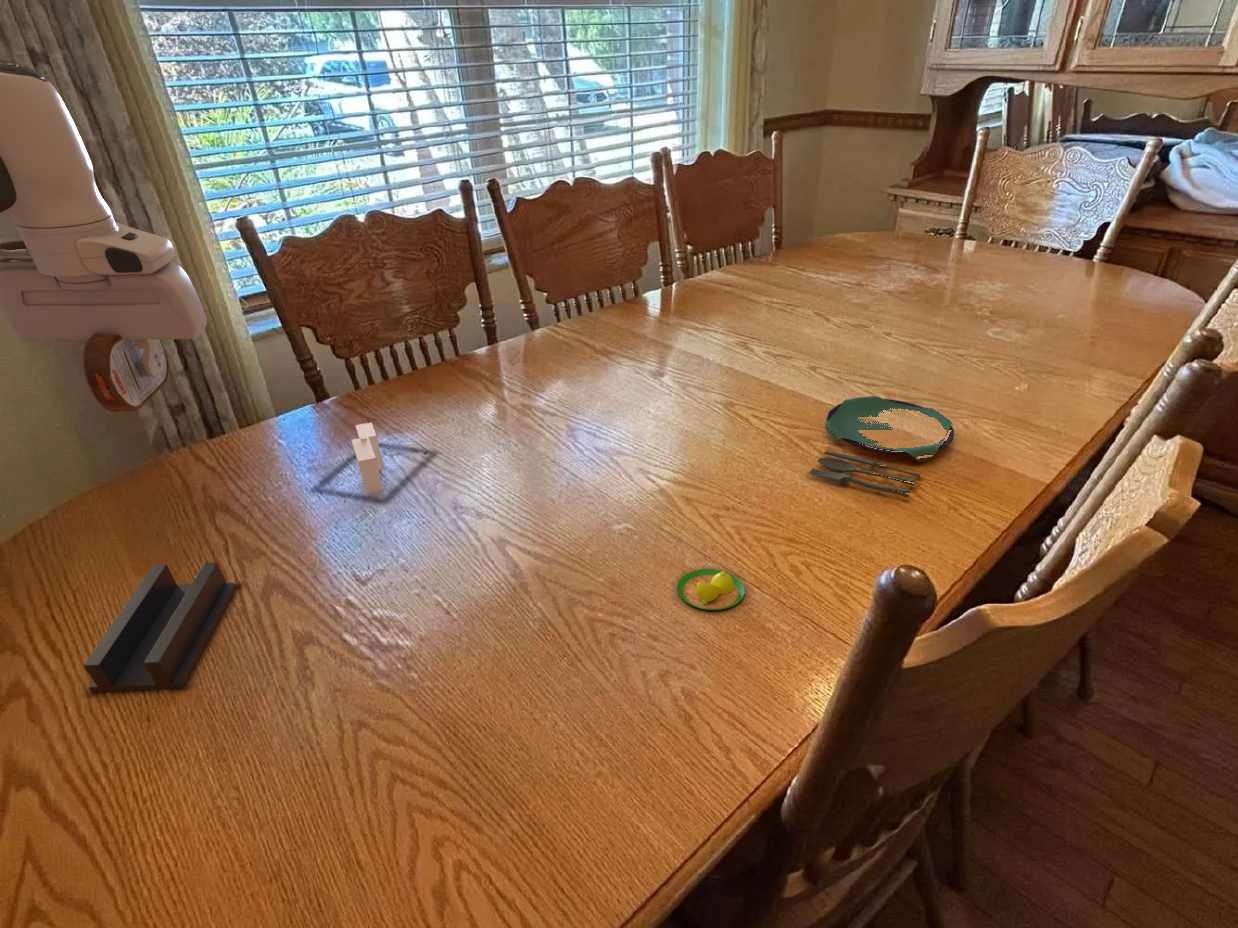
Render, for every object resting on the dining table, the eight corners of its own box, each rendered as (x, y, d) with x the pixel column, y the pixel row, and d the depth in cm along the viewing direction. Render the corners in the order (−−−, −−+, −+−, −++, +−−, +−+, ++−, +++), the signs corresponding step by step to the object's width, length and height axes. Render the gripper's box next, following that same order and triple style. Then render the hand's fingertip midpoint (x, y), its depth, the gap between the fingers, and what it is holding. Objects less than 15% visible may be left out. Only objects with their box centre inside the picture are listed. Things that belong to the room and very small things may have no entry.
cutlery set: (962, 425, 123) (966, 411, 121) (919, 508, 103) (924, 493, 102) (845, 400, 130) (847, 387, 128) (784, 473, 110) (786, 459, 109)
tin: (157, 375, 96) (126, 307, 91) (182, 373, 97) (152, 305, 91) (105, 424, 85) (66, 350, 80) (133, 422, 85) (95, 348, 80)
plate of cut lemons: (734, 620, 85) (737, 601, 83) (668, 604, 87) (669, 585, 85) (751, 581, 90) (753, 562, 88) (688, 567, 92) (689, 548, 91)
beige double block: (386, 503, 103) (376, 466, 99) (314, 492, 105) (302, 455, 102) (435, 454, 114) (428, 419, 110) (369, 445, 116) (360, 410, 112)
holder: (93, 694, 75) (73, 666, 73) (159, 592, 88) (145, 564, 85) (184, 690, 76) (168, 661, 73) (237, 589, 89) (225, 561, 86)
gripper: (-42, 257, 77) (29, 388, 86) (164, 256, 78) (212, 384, 87) (-9, 241, 81) (55, 367, 91) (185, 240, 83) (229, 363, 92)
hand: (134, 375), depth 89 cm, fingers closed on tin, 2 cm apart
